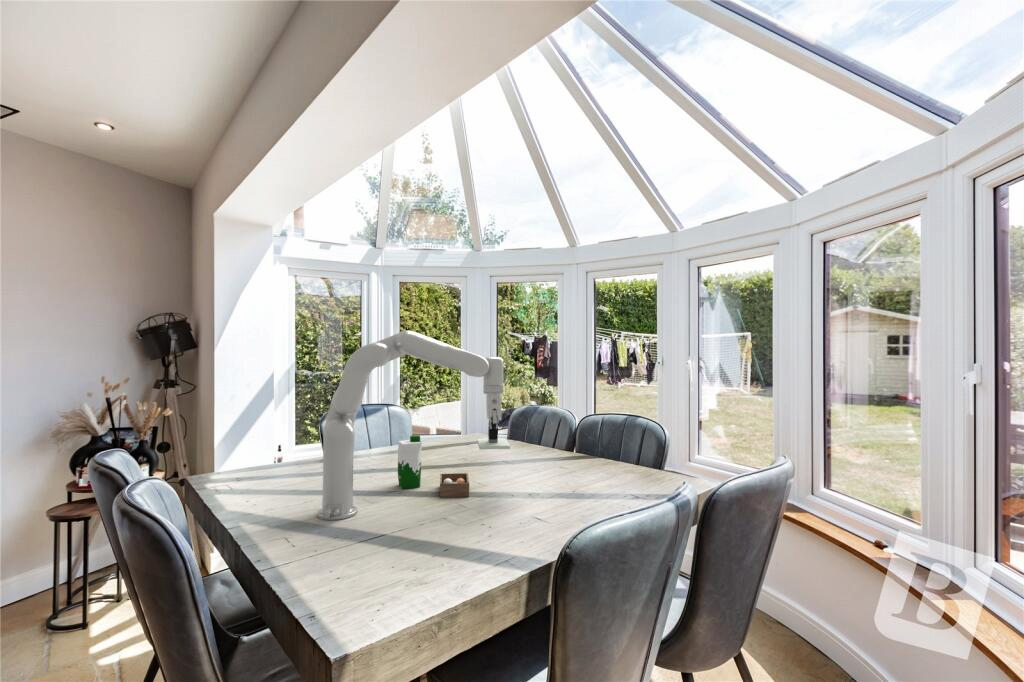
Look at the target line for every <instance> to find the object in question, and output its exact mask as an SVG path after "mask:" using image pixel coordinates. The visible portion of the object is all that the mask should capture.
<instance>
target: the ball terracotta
mask: <svg viewBox="0 0 1024 682" xmlns="http://www.w3.org/2000/svg"><path fill="white" fill-rule="evenodd" d="M456 482H457V483H465V480H464V479H462V478H459V479H457V481H456Z"/></svg>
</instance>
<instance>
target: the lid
mask: <svg viewBox="0 0 1024 682" xmlns="http://www.w3.org/2000/svg"><path fill="white" fill-rule="evenodd" d="M487 428H488V430H487V437H488V438H487V437H486V438H485V437H484V438H476V443H477V446H478V449H479V450H510V449H511V445H510V443H509V442H508V440H507V439H506V437H498V439H495V440H490V439H489V429H490V423H489V422H488V427H487ZM497 428H498V429H499V427H498V423H497Z"/></svg>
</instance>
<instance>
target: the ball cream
mask: <svg viewBox="0 0 1024 682" xmlns="http://www.w3.org/2000/svg"><path fill="white" fill-rule="evenodd" d="M445 483H452V480H451V479H449V478H447V479H445V480H444V482H443V484H445Z"/></svg>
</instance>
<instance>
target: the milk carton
mask: <svg viewBox="0 0 1024 682" xmlns="http://www.w3.org/2000/svg"><path fill="white" fill-rule="evenodd" d="M422 445H423V443H422V441H421V435H418V434H417V435H410V437H409V439H404V440H398V445H397V446H398V448H397V451H398V452H397V480H398V486H399V487H400V488H401V490H407V489H416V488H421V482H422V481H421V479H422V449H423V448H422V447H423V446H422Z"/></svg>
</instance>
